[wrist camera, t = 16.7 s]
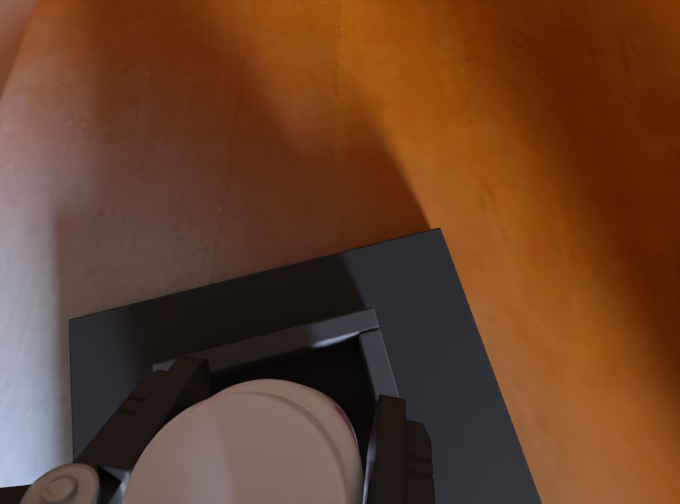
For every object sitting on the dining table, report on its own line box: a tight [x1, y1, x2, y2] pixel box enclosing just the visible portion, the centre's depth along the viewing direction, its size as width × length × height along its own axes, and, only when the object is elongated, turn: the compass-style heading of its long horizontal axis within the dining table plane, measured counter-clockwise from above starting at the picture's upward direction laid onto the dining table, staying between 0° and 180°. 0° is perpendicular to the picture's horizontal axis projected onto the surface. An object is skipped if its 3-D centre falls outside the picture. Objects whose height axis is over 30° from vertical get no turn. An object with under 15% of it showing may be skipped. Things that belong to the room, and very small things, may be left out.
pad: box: [69, 228, 542, 504], centre depth 15 cm, size 16×14×3 cm
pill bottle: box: [122, 379, 364, 504], centre depth 11 cm, size 5×5×8 cm
